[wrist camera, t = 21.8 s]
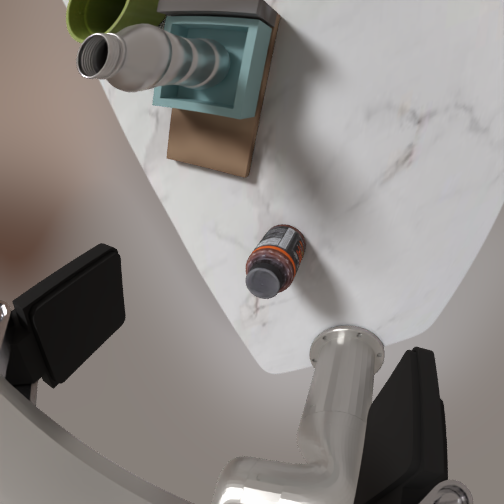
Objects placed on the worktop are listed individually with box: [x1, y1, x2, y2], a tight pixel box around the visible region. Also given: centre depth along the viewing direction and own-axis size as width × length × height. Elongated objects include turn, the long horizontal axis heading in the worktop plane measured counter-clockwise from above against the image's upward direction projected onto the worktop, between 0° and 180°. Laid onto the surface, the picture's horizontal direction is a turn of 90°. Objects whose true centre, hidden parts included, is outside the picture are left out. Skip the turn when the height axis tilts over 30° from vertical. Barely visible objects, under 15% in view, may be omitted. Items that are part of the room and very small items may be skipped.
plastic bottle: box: [76, 23, 230, 92], centre depth 26 cm, size 6×7×20 cm
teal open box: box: [152, 16, 272, 119], centre depth 33 cm, size 12×12×5 cm
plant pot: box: [66, 0, 166, 43], centre depth 30 cm, size 12×12×11 cm
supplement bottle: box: [246, 225, 306, 299], centre depth 40 cm, size 6×6×11 cm
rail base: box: [156, 0, 280, 178], centre depth 34 cm, size 22×12×8 cm, turn 169°
